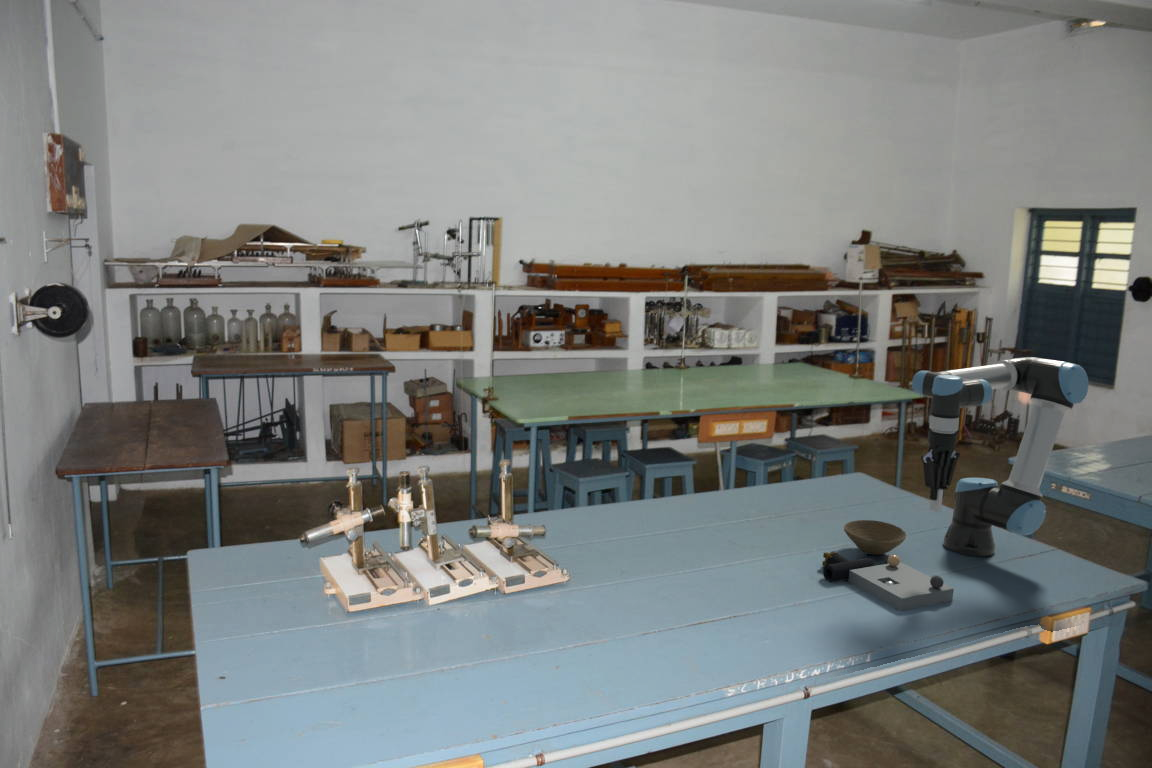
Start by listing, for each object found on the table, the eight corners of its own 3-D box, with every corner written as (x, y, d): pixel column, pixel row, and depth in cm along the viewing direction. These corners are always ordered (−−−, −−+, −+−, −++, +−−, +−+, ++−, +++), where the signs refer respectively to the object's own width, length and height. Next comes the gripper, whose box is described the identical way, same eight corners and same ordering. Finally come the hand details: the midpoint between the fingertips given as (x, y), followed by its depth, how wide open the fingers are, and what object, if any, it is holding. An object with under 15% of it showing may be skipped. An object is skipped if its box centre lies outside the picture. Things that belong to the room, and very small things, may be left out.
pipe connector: (809, 553, 254) (848, 546, 260) (807, 569, 255) (846, 563, 261) (835, 568, 244) (876, 561, 250) (833, 585, 245) (873, 578, 251)
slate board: (898, 572, 254) (899, 561, 254) (952, 600, 237) (953, 588, 236) (848, 581, 247) (849, 570, 246) (900, 610, 229) (901, 598, 228)
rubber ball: (935, 584, 238) (937, 573, 237) (945, 589, 235) (947, 577, 234) (926, 586, 237) (928, 574, 236) (936, 591, 234) (937, 579, 233)
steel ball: (891, 584, 242) (886, 576, 241) (900, 589, 239) (895, 581, 238) (883, 592, 241) (878, 585, 240) (892, 597, 238) (887, 589, 237)
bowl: (838, 557, 264) (841, 533, 263) (844, 538, 281) (846, 515, 280) (902, 568, 258) (905, 543, 256) (904, 548, 275) (907, 524, 273)
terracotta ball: (893, 563, 252) (894, 552, 252) (901, 567, 249) (903, 556, 249) (884, 564, 251) (885, 553, 250) (892, 569, 248) (894, 558, 247)
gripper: (949, 425, 247) (941, 503, 251) (915, 429, 241) (908, 509, 246) (970, 431, 240) (962, 511, 245) (936, 435, 234) (929, 517, 239)
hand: (935, 510), depth 245 cm, fingers closed
